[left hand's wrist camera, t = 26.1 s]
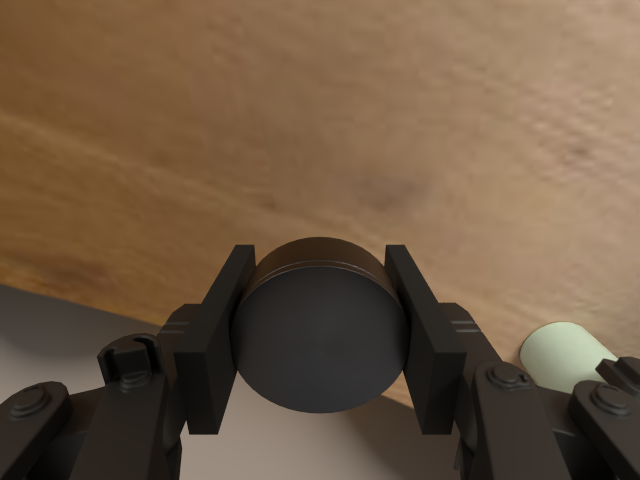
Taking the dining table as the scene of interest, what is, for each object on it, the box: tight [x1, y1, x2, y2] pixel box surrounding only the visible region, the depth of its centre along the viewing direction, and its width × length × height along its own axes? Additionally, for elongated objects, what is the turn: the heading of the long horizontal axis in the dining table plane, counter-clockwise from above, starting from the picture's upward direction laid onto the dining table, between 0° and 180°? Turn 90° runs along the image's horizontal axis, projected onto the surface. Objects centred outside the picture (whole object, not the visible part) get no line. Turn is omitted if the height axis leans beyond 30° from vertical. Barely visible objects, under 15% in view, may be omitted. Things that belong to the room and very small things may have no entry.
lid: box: [229, 237, 411, 413], centre depth 11 cm, size 6×6×2 cm
